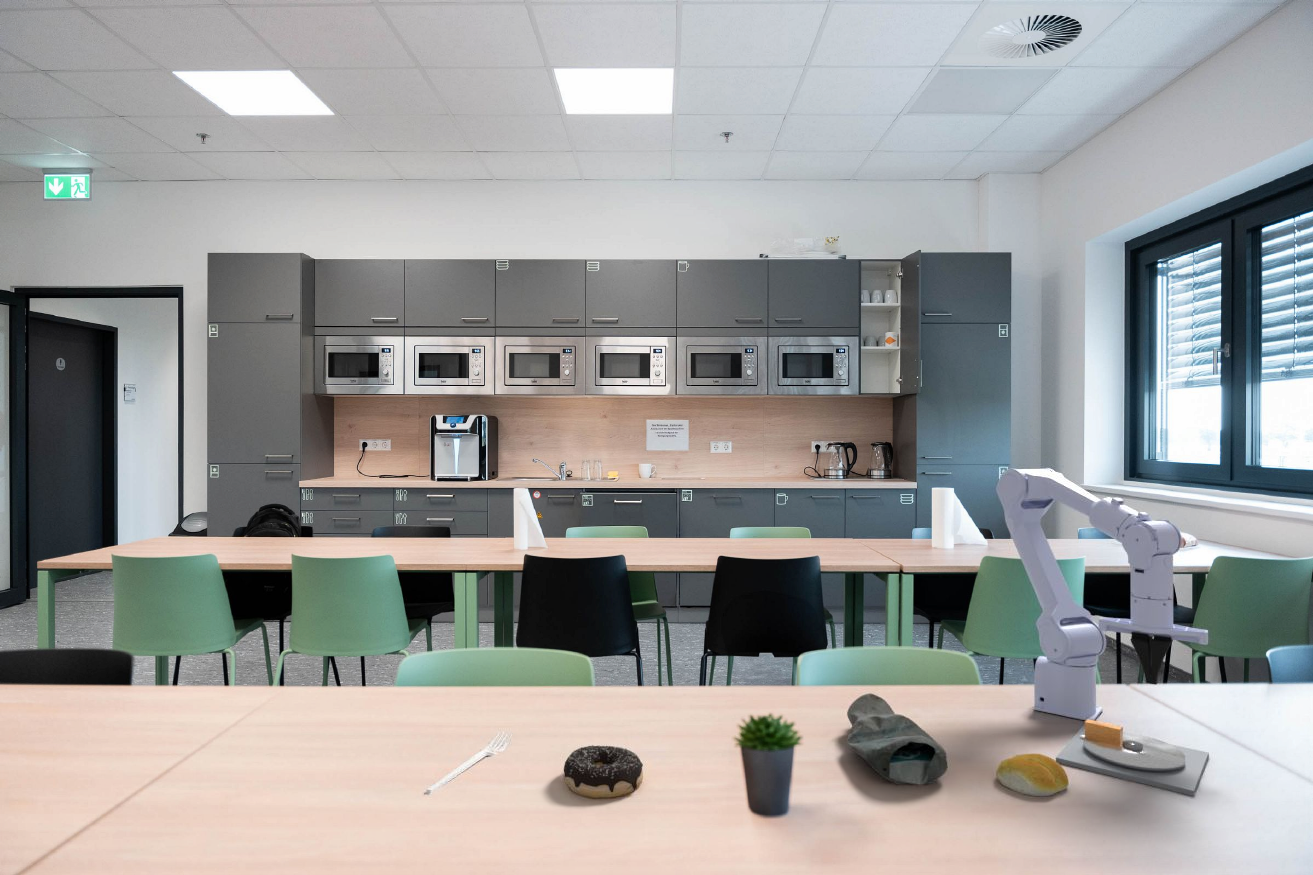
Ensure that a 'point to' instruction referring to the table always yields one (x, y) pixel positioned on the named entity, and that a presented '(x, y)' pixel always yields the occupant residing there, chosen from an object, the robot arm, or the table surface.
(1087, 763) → the base plate
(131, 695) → the table surface
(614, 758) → the donut
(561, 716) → the table surface
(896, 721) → the crumpled grey pouch
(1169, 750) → the handwheel
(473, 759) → the fork
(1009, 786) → the bread roll
